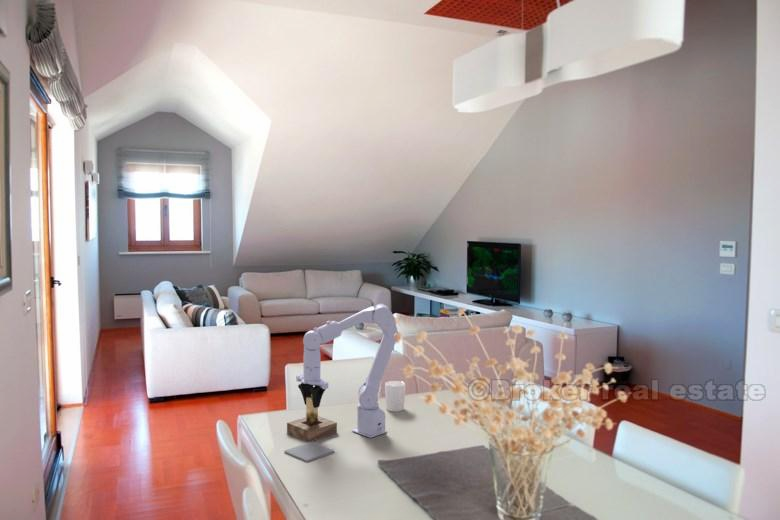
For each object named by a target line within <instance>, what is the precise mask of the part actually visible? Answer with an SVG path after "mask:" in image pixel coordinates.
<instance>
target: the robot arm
mask: <svg viewBox="0 0 780 520" xmlns="http://www.w3.org/2000/svg"><path fill="white" fill-rule="evenodd" d="M373 321H374V323H375V324H376V325H377V326H378V327H379V328H380V330H381V332H382V333H383V335H382V338H381V340H380V343H379V346H378V348H377V351H376V353H375V357H374V359H373V361H372V364H371V367H370V369H369V372H368V375H367V377H366V379H365V381H364V383H363V384H362V385H361V386H360V387H358V397H359V398H358V400H359V401H358V403H357V408H356V409H357V410H356V411H357V419H356V420H357V421H356V422H357V423H356V425H357V426H356V428H353V429H351V432H353V433H355V434H359V435H361V436H363V437H364V436H365V437H367V438H370V439H371V438H376V437H377V436H380V435H383V434H386V433H387V432H388V431H387V430H386V413H385V411H384V410H383V409H381V408H380V406H379V403H378V400H379V397H378V393H379V391H380V387H381V381H382V379H383V377H384V374H385V371H386V369H387V366H388V363H389V360H390V358H391V355H392V352H393V349H394V348H395V344H396V342H397V340H396V341H395V339H394V334H395V333H398V334H399V332H398V327H397V323H396V319H395V316H394V314H393V312H392V311H391V309H390V307H388V305H386V304H385V303H378V304H376V305H374V306H369V307H367V308H364V309H362V310H360V311H359V312H356V313H354V314H353V315H351V316H349V317H346V318H344V319H342V320H340V321H336V320H327V321H326V323H325V324H324V325H321V326H319V327H317V326H316V327H315V326H314V327H313V330H309V331H307V332H305V334H304V336H303V338H302V343H303V361H302V363H303V374H299V375H296V381H295V382H298V383H299V382H300V383H299V384H298V385H297V387H298V389H299V390H300V393H301V395H302V398H303V403H304V405H305V406H306V396H309V395H312V398H313V407H314V408H317V407H318V408H319V407H320V404H321V401H322V398H323V395H324V393H325V392H326V390H327V389H329V382H328V381H325V380H324V379H322V378H321V350H320V348H321V347H320V346H321V344H326V343H328V342H330V341H333V340H335V339H337V338H340V337H341V336H342V333H343V331H345V330H349V329H350V328H353V327H355V326H358V325H360V324H362V323H366V324H367V323H368V324H373Z"/></svg>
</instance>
